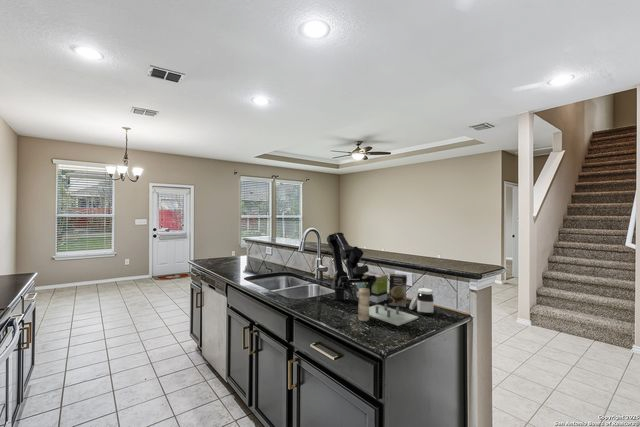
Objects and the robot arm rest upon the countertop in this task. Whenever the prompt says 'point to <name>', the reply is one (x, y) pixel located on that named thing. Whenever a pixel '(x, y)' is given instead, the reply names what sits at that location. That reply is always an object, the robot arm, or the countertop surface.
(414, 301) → the spread jar
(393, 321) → the standoff plate
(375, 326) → the countertop surface
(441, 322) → the countertop surface
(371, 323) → the countertop surface
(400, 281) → the coffee box
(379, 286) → the tea box
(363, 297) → the birch cylinder
